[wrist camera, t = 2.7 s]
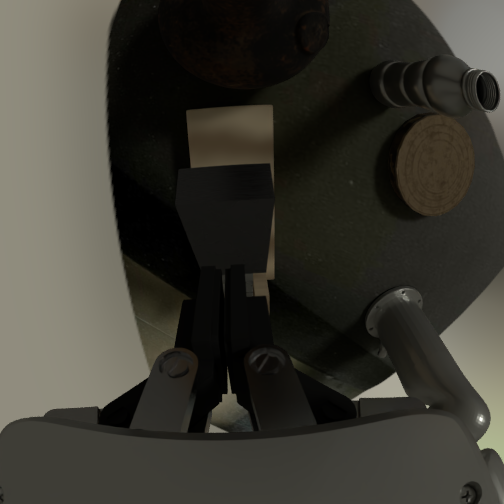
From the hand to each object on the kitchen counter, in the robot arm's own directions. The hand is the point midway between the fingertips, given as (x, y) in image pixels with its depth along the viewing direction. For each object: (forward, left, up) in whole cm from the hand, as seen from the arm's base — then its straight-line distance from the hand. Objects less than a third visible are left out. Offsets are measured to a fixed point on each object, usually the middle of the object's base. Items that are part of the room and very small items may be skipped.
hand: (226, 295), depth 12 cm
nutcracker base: (-6, 0, -29) cm, 30 cm away
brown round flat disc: (-1, -30, -30) cm, 42 cm away
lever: (-5, 0, -14) cm, 15 cm away
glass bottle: (+17, -2, -29) cm, 34 cm away
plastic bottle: (+10, -21, -29) cm, 37 cm away
